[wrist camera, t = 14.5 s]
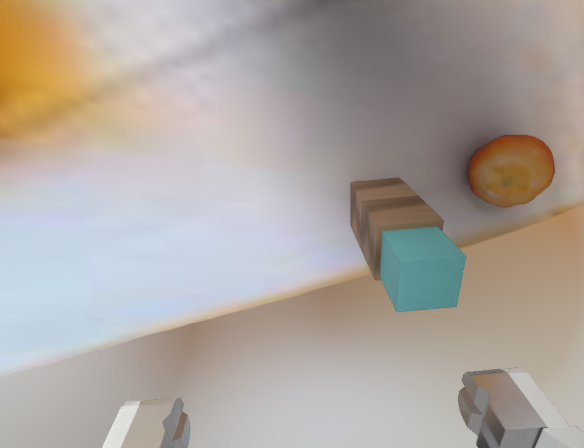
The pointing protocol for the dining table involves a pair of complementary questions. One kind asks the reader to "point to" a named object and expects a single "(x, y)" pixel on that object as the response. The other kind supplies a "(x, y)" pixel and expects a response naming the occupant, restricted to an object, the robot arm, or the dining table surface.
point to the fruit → (511, 170)
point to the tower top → (392, 223)
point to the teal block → (421, 268)
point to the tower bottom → (374, 197)
